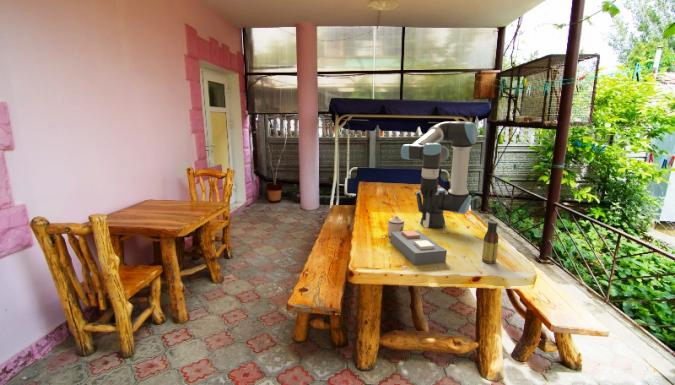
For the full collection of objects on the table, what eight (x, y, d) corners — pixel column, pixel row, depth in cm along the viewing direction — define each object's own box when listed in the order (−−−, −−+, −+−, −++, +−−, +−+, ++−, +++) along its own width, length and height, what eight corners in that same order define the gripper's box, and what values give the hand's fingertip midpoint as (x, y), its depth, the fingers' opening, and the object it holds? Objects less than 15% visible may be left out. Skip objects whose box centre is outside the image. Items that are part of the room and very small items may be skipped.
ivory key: (426, 247, 158) (426, 240, 157) (433, 253, 152) (434, 245, 151) (413, 248, 157) (413, 241, 156) (420, 254, 150) (420, 246, 149)
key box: (417, 240, 177) (418, 230, 175) (445, 262, 150) (446, 250, 149) (390, 242, 173) (391, 232, 171) (414, 265, 146) (415, 253, 145)
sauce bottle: (491, 258, 155) (497, 219, 151) (498, 264, 149) (504, 223, 145) (478, 258, 155) (483, 219, 151) (484, 264, 149) (490, 223, 145)
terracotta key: (413, 237, 171) (413, 230, 171) (419, 242, 165) (420, 234, 164) (401, 238, 170) (401, 231, 169) (407, 243, 163) (407, 235, 162)
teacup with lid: (401, 239, 178) (403, 219, 175) (385, 236, 181) (386, 217, 179) (405, 232, 189) (406, 213, 186) (390, 230, 192) (391, 211, 190)
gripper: (420, 179, 141) (416, 230, 146) (447, 178, 144) (442, 228, 149) (413, 176, 148) (409, 224, 153) (438, 175, 151) (433, 223, 156)
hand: (425, 226), depth 151 cm, fingers closed
